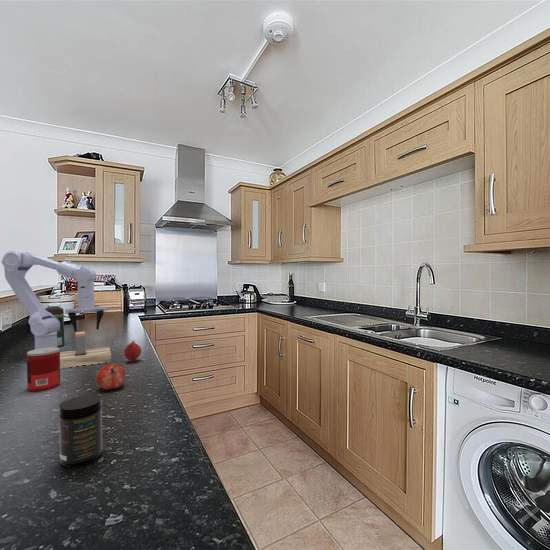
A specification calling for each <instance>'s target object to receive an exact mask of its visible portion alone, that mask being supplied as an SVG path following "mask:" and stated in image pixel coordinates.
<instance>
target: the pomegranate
mask: <svg viewBox="0 0 550 550" xmlns="http://www.w3.org/2000/svg"><path fill="white" fill-rule="evenodd" d="M125 375H126V374H125V369H124V367H123V366H121V365H117V364H114V363H108V364H106V365H104V366H102V368H101V369H100V370H99V371H98V372H97V374H96V382H97V383H98V386H99V388H101V389H102V390H106V391H109V389H110V390H112V389H113V390H114V389H117V388H120V387H122V385H123V384H124V382H125Z"/></svg>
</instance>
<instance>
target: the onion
mask: <svg viewBox="0 0 550 550" xmlns="http://www.w3.org/2000/svg"><path fill="white" fill-rule="evenodd" d="M123 353H124V357H125V358H126V359H127V360H128V361H130V362H133V361H134V362H135V361H136V360H137V359H138V358H140V356H141V354H142V347H140V345H139V344H137V343H136V341H135V340H131V342H130V343H129V344H128V345H127V346H126V347H125V349H124V352H123Z"/></svg>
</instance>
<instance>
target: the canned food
mask: <svg viewBox="0 0 550 550" xmlns="http://www.w3.org/2000/svg"><path fill="white" fill-rule="evenodd" d="M60 352H61V350H60V348H59V347H48V348H40V349H35V348H34V349H32V350H29V351H27V353H26V388H27V389H28V391H30V392H42V391H41V390H43V391H47V389H48V390H51V389H54V388H56V387H58V386H59V385H60V383H61V369H60Z"/></svg>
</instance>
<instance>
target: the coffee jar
mask: <svg viewBox="0 0 550 550" xmlns="http://www.w3.org/2000/svg"><path fill="white" fill-rule="evenodd" d="M44 309H45V310H46V311H48V312H50V313H51V314H52V315H53V316H54V317H55V318H57V319H58V320H59V322H60V327H59V329H58V330H57V348H59V347H63V346H64V345H65V319H64V318H65V310H64V308H62V307H61V306H57V305H52V306H51V305H50V306H47V307H46V308H45V307H44Z"/></svg>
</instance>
